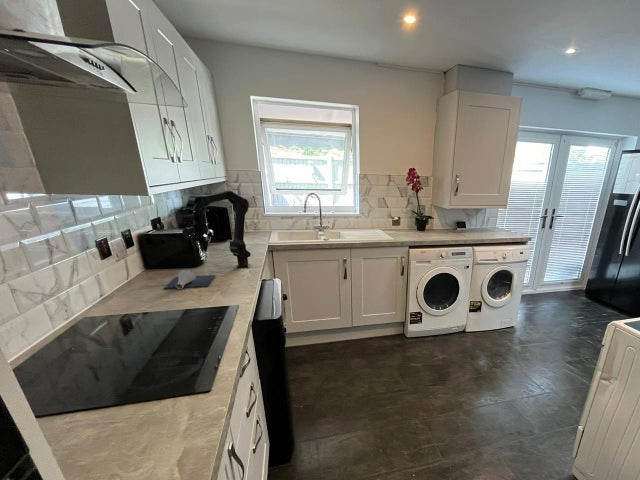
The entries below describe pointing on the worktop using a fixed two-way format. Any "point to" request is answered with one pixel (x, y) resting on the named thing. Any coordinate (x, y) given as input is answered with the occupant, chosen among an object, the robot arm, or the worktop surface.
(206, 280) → the mat
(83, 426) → the worktop surface
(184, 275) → the flask
